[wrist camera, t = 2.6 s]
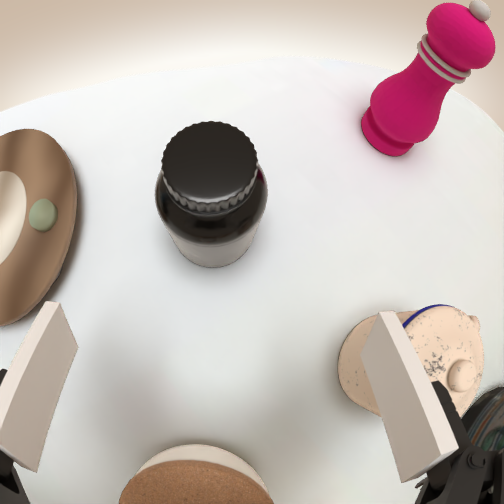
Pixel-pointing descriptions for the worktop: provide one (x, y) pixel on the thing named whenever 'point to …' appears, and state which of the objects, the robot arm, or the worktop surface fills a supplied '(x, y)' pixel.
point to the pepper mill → (429, 77)
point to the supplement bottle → (211, 193)
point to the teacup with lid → (423, 354)
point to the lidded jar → (195, 479)
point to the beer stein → (486, 421)
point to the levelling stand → (32, 218)
